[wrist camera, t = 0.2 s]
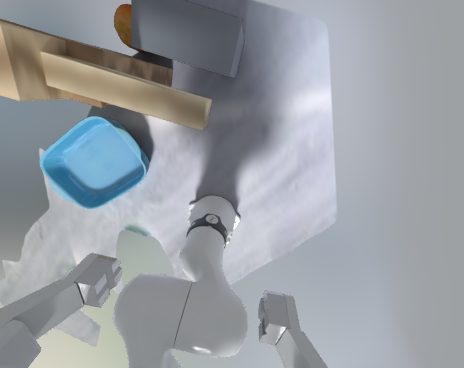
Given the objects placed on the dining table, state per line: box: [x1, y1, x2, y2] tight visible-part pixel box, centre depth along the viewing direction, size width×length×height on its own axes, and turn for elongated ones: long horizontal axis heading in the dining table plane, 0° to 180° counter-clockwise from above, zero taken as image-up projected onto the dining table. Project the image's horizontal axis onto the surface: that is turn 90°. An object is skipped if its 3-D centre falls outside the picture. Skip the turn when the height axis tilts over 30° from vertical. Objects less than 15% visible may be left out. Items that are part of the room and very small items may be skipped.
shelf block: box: [0, 19, 173, 108], centre depth 37 cm, size 7×14×26 cm, turn 75°
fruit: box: [114, 4, 146, 52], centre depth 41 cm, size 8×8×8 cm
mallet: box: [0, 21, 212, 130], centre depth 23 cm, size 7×28×7 cm, turn 75°
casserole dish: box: [40, 116, 149, 209], centre depth 58 cm, size 37×22×7 cm, turn 121°
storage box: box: [131, 0, 245, 79], centre depth 38 cm, size 8×18×14 cm, turn 75°
